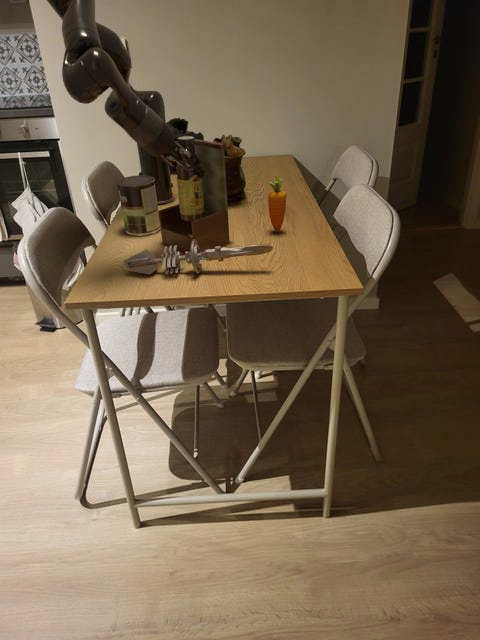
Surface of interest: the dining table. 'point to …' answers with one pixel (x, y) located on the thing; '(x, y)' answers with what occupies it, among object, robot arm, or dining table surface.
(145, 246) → the dining table surface
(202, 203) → the sauce bottle
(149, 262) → the spaceship
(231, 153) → the pottery vessel
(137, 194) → the coffee can
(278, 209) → the carrot
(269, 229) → the dining table surface
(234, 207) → the dining table surface
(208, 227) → the bottle rack
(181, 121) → the coal bowl
